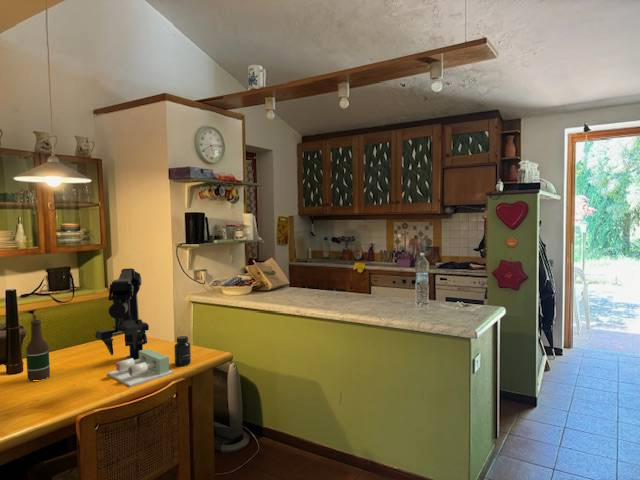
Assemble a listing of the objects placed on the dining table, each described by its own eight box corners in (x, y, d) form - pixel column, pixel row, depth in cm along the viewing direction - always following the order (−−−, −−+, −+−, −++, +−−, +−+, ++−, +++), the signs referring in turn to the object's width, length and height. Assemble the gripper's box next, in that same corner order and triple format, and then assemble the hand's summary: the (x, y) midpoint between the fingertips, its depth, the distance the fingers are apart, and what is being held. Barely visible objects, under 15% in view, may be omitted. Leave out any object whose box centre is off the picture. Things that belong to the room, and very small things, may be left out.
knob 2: (156, 366, 184) (156, 357, 184) (161, 368, 182) (161, 359, 181) (127, 375, 175) (127, 365, 175) (132, 377, 172) (132, 367, 172)
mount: (107, 374, 182) (107, 358, 181) (149, 362, 195) (148, 347, 195) (130, 386, 168) (129, 369, 168) (172, 373, 182) (172, 357, 181)
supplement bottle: (186, 367, 189) (185, 339, 188) (171, 366, 191) (170, 339, 190) (193, 361, 196) (192, 335, 195) (179, 360, 197) (178, 334, 196)
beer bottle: (54, 375, 181) (51, 318, 179) (37, 382, 173) (33, 323, 172) (40, 373, 183) (37, 317, 182) (22, 380, 176) (19, 322, 174)
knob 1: (144, 362, 190) (143, 353, 189) (148, 364, 187) (148, 355, 187) (115, 370, 180) (114, 361, 180) (119, 373, 178) (119, 363, 177)
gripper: (107, 320, 158) (109, 362, 159) (155, 311, 172) (156, 350, 173) (93, 316, 165) (95, 356, 166) (141, 307, 179) (142, 345, 180)
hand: (123, 352), depth 171 cm, fingers open, 9 cm apart
